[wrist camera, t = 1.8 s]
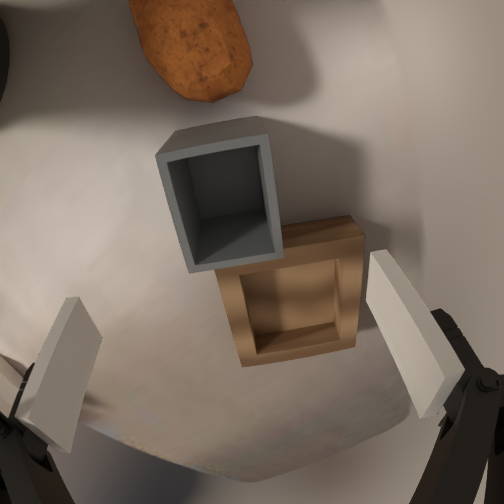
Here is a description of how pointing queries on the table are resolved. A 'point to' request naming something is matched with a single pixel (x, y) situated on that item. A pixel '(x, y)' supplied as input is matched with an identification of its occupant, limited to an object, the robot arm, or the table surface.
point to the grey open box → (222, 194)
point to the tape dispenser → (8, 386)
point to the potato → (194, 45)
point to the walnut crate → (297, 294)
